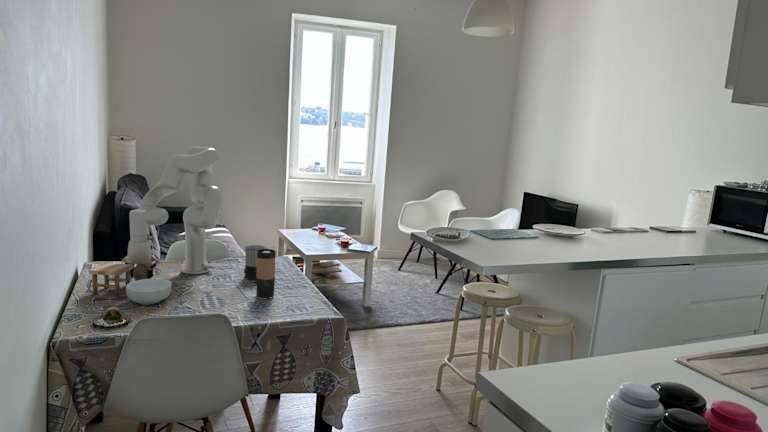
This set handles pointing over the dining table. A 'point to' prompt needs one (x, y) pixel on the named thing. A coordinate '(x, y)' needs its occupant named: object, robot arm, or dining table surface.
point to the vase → (140, 272)
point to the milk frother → (251, 261)
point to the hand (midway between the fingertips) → (141, 277)
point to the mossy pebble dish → (113, 317)
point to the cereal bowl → (148, 290)
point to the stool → (108, 270)
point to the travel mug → (265, 273)
